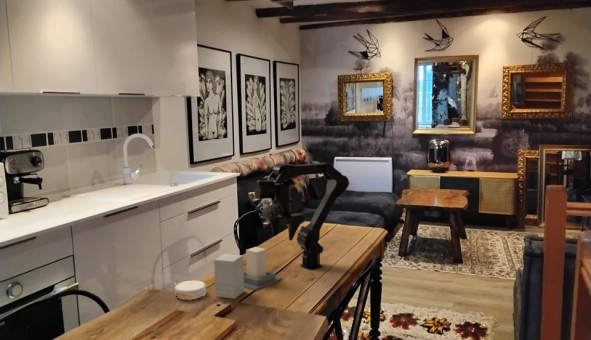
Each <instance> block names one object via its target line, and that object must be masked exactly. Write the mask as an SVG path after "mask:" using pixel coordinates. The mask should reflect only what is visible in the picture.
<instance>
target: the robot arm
mask: <svg viewBox="0 0 591 340" xmlns="http://www.w3.org/2000/svg"><path fill="white" fill-rule="evenodd" d="M319 174H322V175H323V177H324V179H325V180H326V181H327V183H326V189H325V194H324V195H323V198H322V199H321V201H320V203H319V204H318V206H317V209H316V210H315V212H314V214H313V216H312V218H311V220H310V221H309V223H308V224H307V225H306V226H304V225H302V224H303V223H305V221H306V220H305V215H304V214H302V213H297V212H296V213H293V210H291V204H292V203H293V199H291V186H295V185H297V183H296V182H295V181H294V180H293V179H295V178H296V177H298V176H299V177H300V176H305V175H306V176H307V175H319ZM349 185H350V180H349V177H347V176H346V175H344V174H342V172H340V171H338V170H337V169H336V167H334V166H333V165H332V164H331V163H329V162H324V161H323V162H320V163H316V162H315V163H307V164H306V163H305V164H292V163H291V164H289V163H282V162H278V163H276V164H275V165H274V166H273V168H272V171H271V173H270V174H269V176H268V178H267V179H266V180H261V179H259V180H257V181H256V184H255V186H254V187H255V188H254V190H253V191H254V196H255V198H256V199H257V200H265V199H272V201H271V204H270V205H267V206H266V207H265V208H263V209H262V210H261V217H263V218H264V220H266V221H267V222H268V223H269V224H270V225H269V226H270V228H271V231H272V234H273V237H274V236H275V237H276V236H277V235H278V232H279V226H280V222H281V221H280V220H281V218H282V219H285V222H286V223H285V225H286V226H287V227H288V240H289V241H291V242H292V241H293V239H294V237H295V235H297V237H296V241H297V242H296V243H297V244H298V245H299V247H300V249H301V250H302V256H301V258H302V260H301V261H302V264H300V267H303V268H305V269H307V270H309V271H310V270H315V269H318V268H319V269H320V268H322V267H323V264H321V254H322V253H323V251H324V246H322V245H321V244H320V243H319V241H320V237H321V236H320V233H321V229H322V227H323V225H324V223H325V221H326V219H327V218H328V215H329V214H330V212H331V211H332V208H333V206H334V204H335V203H336V200H337V199H338V198H339V197H341V196H342V195H343V194H344V193H345V191H347V190H348V187H350V186H349ZM273 198H274V199H273ZM300 225H301V227H300ZM299 227H300V230H299V231H298V229H299ZM297 231H298V233H297ZM296 233H297V234H296Z"/></svg>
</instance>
